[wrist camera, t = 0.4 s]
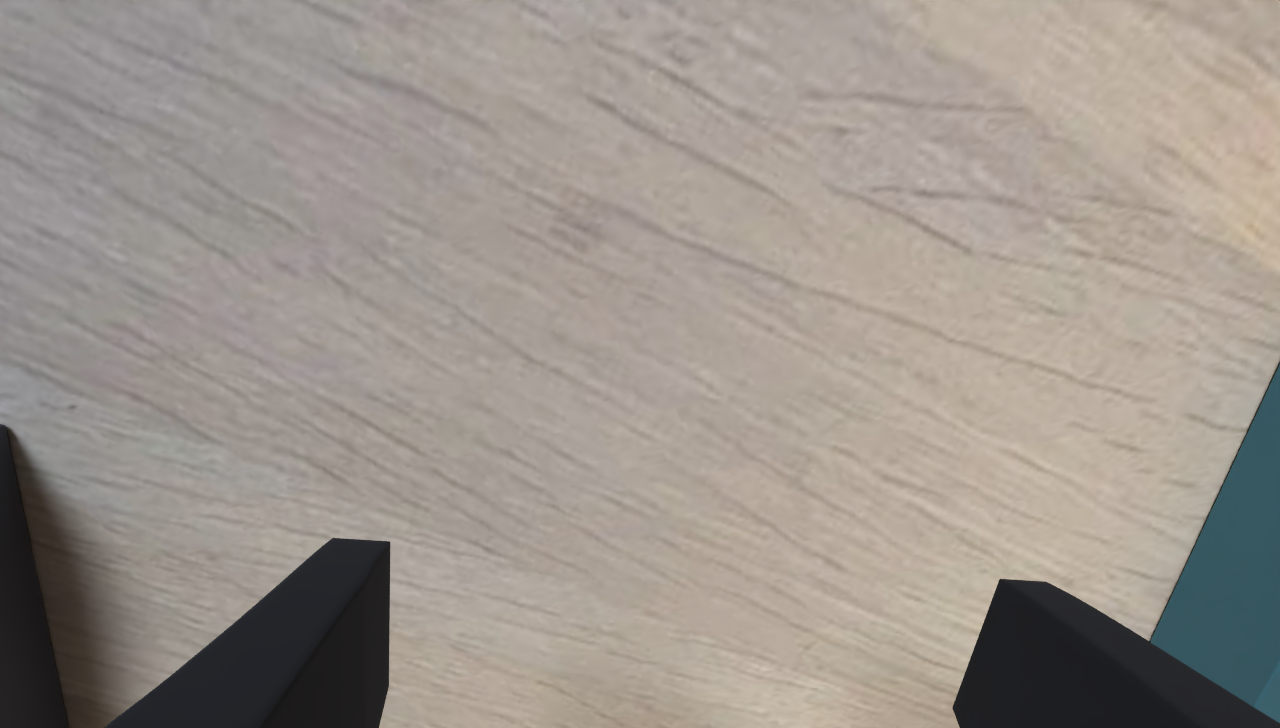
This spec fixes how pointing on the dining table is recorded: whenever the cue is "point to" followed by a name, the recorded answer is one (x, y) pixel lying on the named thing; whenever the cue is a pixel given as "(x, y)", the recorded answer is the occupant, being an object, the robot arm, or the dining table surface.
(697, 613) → the dining table surface
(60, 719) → the remote
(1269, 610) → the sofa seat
